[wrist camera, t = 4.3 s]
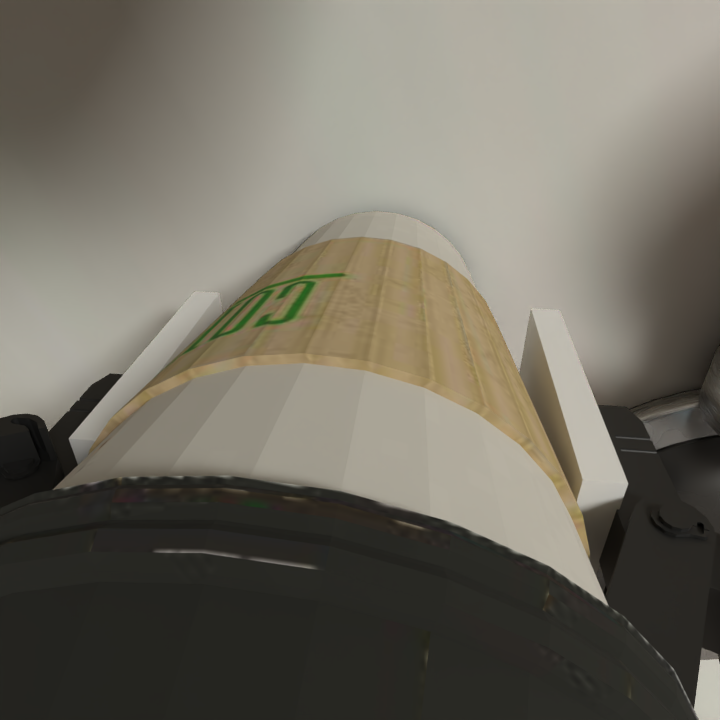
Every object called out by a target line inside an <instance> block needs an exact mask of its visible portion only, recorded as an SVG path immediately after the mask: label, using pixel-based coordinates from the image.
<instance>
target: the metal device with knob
mask: <svg viewBox="0 0 720 720" xmlns="http://www.w3.org/2000/svg"><path fill="white" fill-rule="evenodd" d="M630 411H631V412H632V413H633V414H635V415H636V416H637V417H638V418H639V419H640V420H641V421H642V422H643V424H644V426H645V428H646V430H647V432H648V434H649V436H650V441H652V442H653V444H654V446H655V448H656V450H657V454H659V456H660V459H661V461H662V463H663V465H664V467H665V469H666V471H667V473H668V475H669V477H670V479H671V481H672V483H673V485H674V487H675V489H676V491H677V493H678V495H679V497H680V500H681V501H683V502H685V503H687V504H689V505H691V506H693V507H694V508H696V509H697V510H698V511H699V512H701V513H702V514H703V515H704V516H706V518H707V519H708V520H709V522H710V523H711V525H712V526H713V528H714V531H715V532H716V533H718V534H720V345H719V346H718V348H717V350H716V352H715V355H714V357H713V360H712V362H711V365H710V367H709V370H708V373H707V375H706V378H705V380H704V383H703V386H702V388H701V389H698V390H693V391H688V392H682V393H678V394H675V395H671V396H667V397H664V398H660V399H657V400H653V401H650V402H648V403H645V404H643V405H640V406H637V407H635V408H632V409H630ZM596 577H597V580H598V582H599V584H600V587H601V589H602V592H603V591H604V588H605V585H606V584H605V581H604V577H603V574H602V570H601V567H600V566H599V569H598V572H597V575H596ZM709 659H719V657H718V654H717V653H714V652H712V651H709V650H706V649H704V648H702V650H701V658H700V660H709Z"/></svg>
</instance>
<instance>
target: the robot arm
mask: <svg viewBox="0 0 720 720" xmlns="http://www.w3.org/2000/svg"><path fill="white" fill-rule="evenodd" d="M221 314H223V310H222V304H221V297H220V293H219V292H199V291H194V292H193V294H192V295H191V296H190V297H189V298H188V299H187V301H186V302H185V303H184V304H183V305H182V306H181V308H180V309H179V310H178V311H177V312H176V313H175V315H174V316H173V317H172V318H171V319H170V320H169V322H168V323H167V324H166V325H165V326H164V327H163V329H162V330H161V331H160V332H159V333H158V334H157V336H156V337H155V338H154V339H153V340H152V342H151V343H150V344H149V345H148V346H147V347H146V349H145V350H144V351H143V352H142V353H141V354H140V356H139V357H138V358H137V359H136V360H135V361H134V363H133V364H132V365H131V366H130V367H129V368H128V370H127V371H126V372H125V373H124V374H109V375H107V376H106V377H104V378H102V379H101V380H99V381H97V382H96V383H94V384H92V385H91V386H90V387H89V388H88V390H87V391H86V392H85V393H84V394H83V395H82V396H81V397H80V401H77V402H76V403H75V404H74V405H73V406H72V407H71V408H70V412H69V411H67V413H66V414H65V415H64V416H63V417H62V418H61V419H60V420H59V421H58V422H57V423H56V425H55V426H54V427H53V428H52V429H51V430H50V431H49V432H48V429H47V427H46V424H45V422H44V420H43V419H41V418H40V417H39V416H36V415H31V414H17V415H11V416H7V417H3V418H0V508H2V507H4V506H7V505H9V504H11V503H13V502H16V501H18V500H20V499H23V498H25V497H27V496H30V495H32V494H34V493H39V492H44V491H50V490H53V489H54V488H55V487H56V486H57V485H58V484H59V483H60V482H61V481H62V480H63V479H64V478H65V477H66V476H67V475H68V474H69V473H70V472H71V471H72V470H73V469H74V468H75V467H76V466H78V465H79V464H80V463H81V462H82V461H83V460H84V459H85V458H86V457H87V456H88V454H89V450H90V448H91V447H92V445H93V444H94V442H95V441H96V439H97V438H98V436H99V435H100V433H101V432H102V430H103V429H104V427H105V426H106V425H107V423H108V422H109V420H110V419H111V418H112V417H113V416H114V415H115V414H116V413H117V412H118V411H119V410H120V409H121V408H122V407H123V406H124V405H125V404H126V403H128V402H129V401H130V400H131V399H132V398H133V397H134V396H135V395H136V394H137V393H138V392H139V391H140V390H141V389H142V388H144V387H145V386H146V385H147V384H148V383H149V382H150V381H151V380H152V379H153V378H154V377H155V376H156V375H157V374H158V373H160V372H161V371H162V370H163V369H164V368H165V367H166V366H167V365H168V364H169V363H170V362H171V361H172V360H173V359H175V358H176V357H177V356H178V355H179V354H180V353H181V352H182V351H183V350H184V349H185V348H186V347H187V346H188V345H189V344H191V343H192V342H193V341H194V340H195V339H196V338H197V337H198V336H199V335H200V334H201V333H202V332H203V331H204V330H205V329H207V328H208V327H209V326H210V325H211V324H212V323H213V322H214V321H215V320H216V319H217V318H218V317H219V316H220V315H221ZM519 374H520V377H521V379H522V381H523V383H524V385H525V388H526V390H527V392H528V394H529V397H530V399H531V401H532V403H533V406H534V408H535V410H536V412H537V414H538V417H539V419H540V421H541V423H542V426H543V428H544V430H545V432H546V435H547V437H548V439H549V441H550V443H551V446H552V448H553V450H554V452H555V455H556V457H557V459H558V461H559V464H560V466H561V468H562V470H563V473H564V475H565V477H566V479H567V481H568V484H569V486H570V488H571V490H572V493H573V495H574V497H575V499H576V502H577V504H578V506H579V508H580V510H581V513H582V515H583V519H584V524H585V529H586V534H587V540H588V545H589V550H590V559H589V561H590V563H591V565H592V568H593V570H594V573H595V575H597V572H598V569H599V566H600V567H601V570H602V574H603V577H604V581H605V584H606V585H605V588H604V591H603V594H604V596H605V599H606V601H607V603H608V606H609V607H611V608H612V609H614V610H615V611H617V612H618V613H620V614H621V615H623V616H624V617H625V618H626V619H627V620H628V621H629V622H630V623H631V624H632V625H633V626H634V627H635V628H636V630H637V631H638V632H639V633H640V634H641V635H642V636H643V637H644V638H645V639H646V640H647V641H648V642H649V643H650V644H651V645H652V646H653V648H654V649H655V650H656V651H657V652H658V653H659V654H660V655H661V656H662V657H663V658H664V659H665V660H666V661H667V662H668V663H669V664H670V665H671V667H672V668H673V669H674V670H675V672H676V674H677V676H678V678H679V680H680V682H681V684H682V686H683V688H684V691H685V693H686V695H687V697H688V699H689V701H690V703H691V705H692V707H693V709H694V704H695V696H696V688H697V681H698V673H699V665H700V658H701V650H702V648H704V649H706V650H709V651H712V652H714V653H717V654H718V657H719V662H720V534H718V533H716V532H715V531H714V528H713V526H712V525H711V523H710V522H709V520H708V519H707V518H706V516H704V515H703V514H702V513H701V512H699V511H698V510H697V509H696V508H694V507H693V506H691V505H689V504H687V503H685V502H683V501H681V500H680V497H679V495H678V493H677V491H676V489H675V487H674V485H673V483H672V481H671V479H670V477H669V475H668V473H667V471H666V469H665V467H664V465H663V463H662V461H661V459H660V456H659V454H657V450H656V448H655V446H654V444H653V442H652V441H650V436H649V434H648V432H647V430H646V428H645V426H644V424H643V422H642V421H641V420H640V419H639V418H638V417H637V416H636V415H635V414H633V413H632V412H631V411H630V410H629V409H628V408H627V407H619V406H604V405H597V403H596V400H595V398H594V395H593V393H592V390H591V388H590V385H589V383H588V380H587V378H586V375H585V373H584V370H583V368H582V365H581V362H580V360H579V357H578V355H577V352H576V350H575V347H574V345H573V342H572V340H571V337H570V335H569V332H568V330H567V327H566V324H565V322H564V319H563V317H562V314H561V312H560V310H552V309H532V308H531V312H530V317H529V323H528V328H527V334H526V339H525V345H524V350H523V356H522V362H521V367H520V373H519Z"/></svg>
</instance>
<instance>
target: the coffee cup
mask: <svg viewBox="0 0 720 720" xmlns="http://www.w3.org/2000/svg"><path fill="white" fill-rule="evenodd" d="M589 559H590V550H589V545H588V540H587V534H586V529H585V524H584V519H583V515H582V513H581V510H580V508H579V506H578V504H577V502H576V499H575V497H574V495H573V493H572V490H571V488H570V486H569V484H568V481H567V479H566V477H565V475H564V473H563V470H562V468H561V466H560V464H559V461H558V459H557V457H556V455H555V452H554V450H553V448H552V446H551V443H550V441H549V439H548V437H547V435H546V432H545V430H544V428H543V426H542V423H541V421H540V419H539V417H538V414H537V412H536V410H535V408H534V406H533V403H532V401H531V399H530V397H529V394H528V392H527V390H526V388H525V385H524V383H523V381H522V379H521V377H520V374H519V372H518V370H517V368H516V365H515V363H514V361H513V359H512V356H511V354H510V352H509V350H508V348H507V345H506V343H505V341H504V339H503V336H502V334H501V332H500V330H499V327H498V325H497V323H496V321H495V319H494V317H493V315H492V313H491V311H490V309H489V307H488V305H487V303H486V301H485V300H484V299H483V297H482V296H481V295H480V294H479V292H478V291H477V289H476V287H475V285H474V282H473V280H472V277H471V275H470V273H469V271H468V269H467V267H466V265H465V263H464V261H463V259H462V257H461V255H460V254H459V253H458V251H457V250H456V249H455V248H454V246H453V245H452V244H451V243H450V241H448V240H447V239H446V238H445V237H444V236H442V235H441V234H440V233H439V232H438V231H436V230H435V229H434V228H432V227H430V226H428V225H426V224H424V223H423V222H421V221H419V220H417V219H414V218H411V217H408V216H404V215H401V214H398V213H390V212H380V211H373V212H362V213H355V214H351V215H348V216H345V217H341V218H338V219H336V220H334V221H332V222H330V223H329V224H327V225H325V226H323V227H321V228H320V229H319V230H318V231H316V232H315V233H314V234H313V235H312V236H311V237H309V238H308V239H307V240H306V241H305V242H304V243H303V244H302V245H301V246H300V247H299V248H298V249H297V250H296V251H295V252H294V253H293V254H291V255H290V256H288V257H286V258H284V259H282V260H281V261H280V262H278V263H277V264H276V265H275V266H274V267H273V268H271V269H270V270H269V271H268V272H267V273H266V274H264V275H263V276H262V277H261V278H260V279H259V280H258V281H257V282H256V283H255V284H254V285H252V286H251V287H250V288H249V289H248V290H247V291H246V292H245V293H244V294H243V295H242V296H241V297H240V298H239V299H238V300H236V301H235V302H234V303H233V304H232V305H231V306H230V307H229V308H228V309H227V310H226V311H225V312H224V313H223V314H221V315H220V316H219V317H218V318H217V319H216V320H215V321H214V322H213V323H212V324H211V325H210V326H209V327H208V328H207V329H205V330H204V331H203V332H202V333H201V334H200V335H199V336H198V337H197V338H196V339H195V340H194V341H193V342H192V343H191V344H189V345H188V346H187V347H186V348H185V349H184V350H183V351H182V352H181V353H180V354H179V355H178V356H177V357H176V358H175V359H173V360H172V361H171V362H170V363H169V364H168V365H167V366H166V367H165V368H164V369H163V370H162V371H161V372H160V373H158V374H157V375H156V376H155V377H154V378H153V379H152V380H151V381H150V382H149V383H148V384H147V385H146V386H145V387H144V388H142V389H141V390H140V391H139V392H138V393H137V394H136V395H135V396H134V397H133V398H132V399H131V400H130V401H129V402H128V403H126V404H125V405H124V406H123V407H122V408H121V409H120V410H119V411H118V412H117V413H116V414H115V415H114V416H113V417H112V418H111V419H110V420H109V422H108V423H107V425H106V426H105V427H104V429H103V430H102V432H101V433H100V435H99V436H98V438H97V439H96V441H95V442H94V444H93V445H92V447H91V448H90V450H89V454H88V456H87V457H86V458H85V459H84V460H83V461H82V462H81V463H80V464H79V465H78V466H76V467H75V468H74V469H73V470H72V471H71V472H70V473H69V474H68V475H67V476H66V477H65V478H64V479H63V480H62V481H61V482H60V483H59V484H58V485H57V486H56V487H55V488H54V489H53V490H50V491H44V492H39V493H34V494H32V495H30V496H27V497H25V498H23V499H20V500H18V501H16V502H13V503H11V504H9V505H7V506H4V507H2V508H0V720H699V719H698V717H697V715H696V713H695V711H694V709H693V707H692V705H691V703H690V701H689V699H688V697H687V695H686V693H685V691H684V688H683V686H682V684H681V682H680V680H679V678H678V676H677V674H676V672H675V670H674V669H673V668H672V667H671V665H670V664H669V663H668V662H667V661H666V660H665V659H664V658H663V657H662V656H661V655H660V654H659V653H658V652H657V651H656V650H655V649H654V648H653V646H652V645H651V644H650V643H649V642H648V641H647V640H646V639H645V638H644V637H643V636H642V635H641V634H640V633H639V632H638V631H637V630H636V628H635V627H634V626H633V625H632V624H631V623H630V622H629V621H628V620H627V619H626V618H625V617H624V616H623V615H621V614H620V613H618V612H617V611H615V610H614V609H612V608H611V607H609V606H608V603H607V601H606V599H605V596H604V594H603V592H602V589H601V587H600V584H599V582H598V580H597V577H596V575H595V573H594V570H593V568H592V565H591V563H590V561H589Z"/></svg>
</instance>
